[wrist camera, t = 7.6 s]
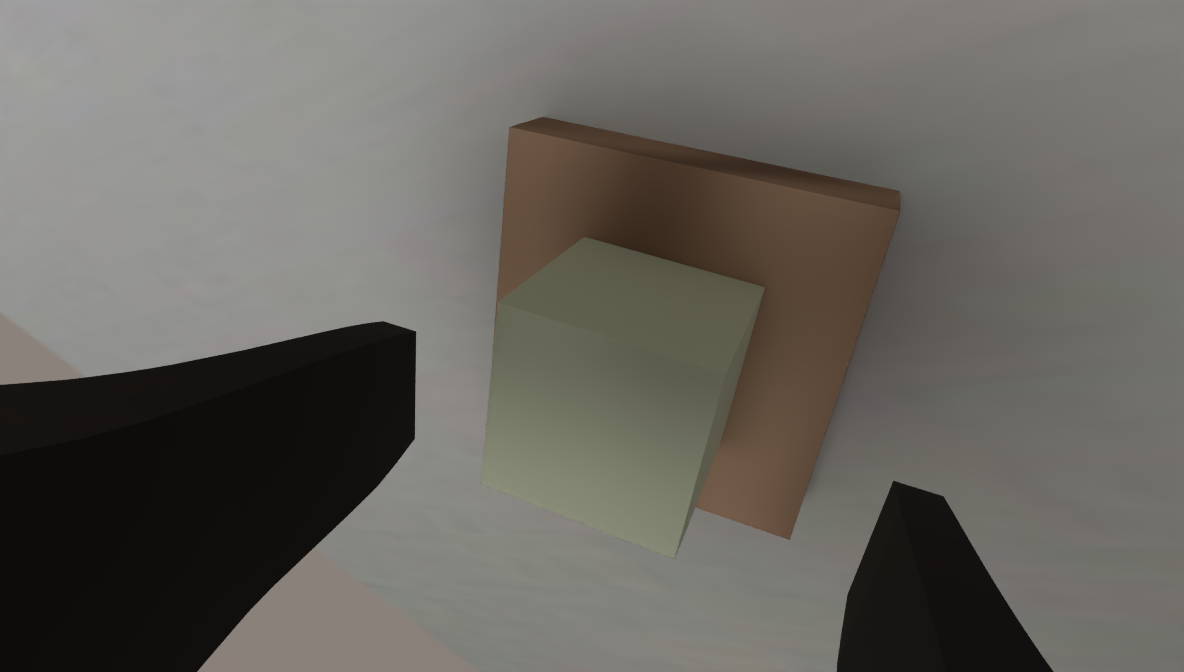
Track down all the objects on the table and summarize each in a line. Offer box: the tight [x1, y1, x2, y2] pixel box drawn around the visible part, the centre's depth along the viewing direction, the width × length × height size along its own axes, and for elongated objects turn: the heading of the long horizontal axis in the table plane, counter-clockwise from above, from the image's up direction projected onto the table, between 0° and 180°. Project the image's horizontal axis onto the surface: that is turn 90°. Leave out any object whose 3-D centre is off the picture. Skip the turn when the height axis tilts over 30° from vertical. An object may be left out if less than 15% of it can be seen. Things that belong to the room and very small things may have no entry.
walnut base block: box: [492, 117, 900, 540], centre depth 19 cm, size 9×9×2 cm
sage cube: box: [481, 237, 765, 560], centre depth 16 cm, size 4×4×4 cm
